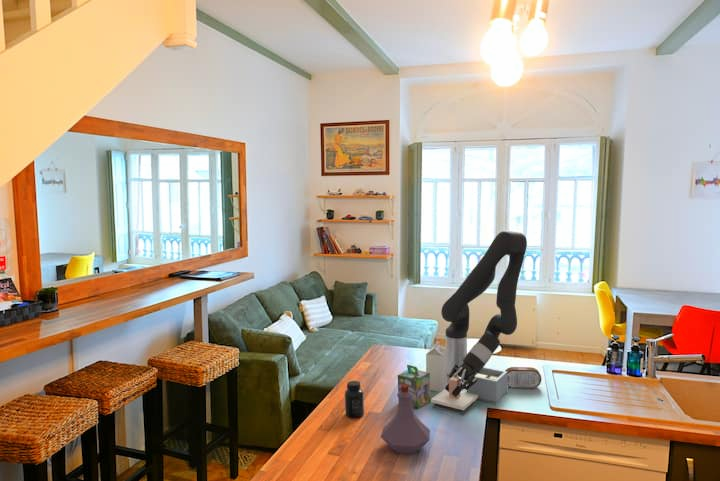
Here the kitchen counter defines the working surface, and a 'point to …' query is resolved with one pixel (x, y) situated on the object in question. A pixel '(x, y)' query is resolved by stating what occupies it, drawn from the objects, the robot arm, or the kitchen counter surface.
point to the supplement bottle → (354, 400)
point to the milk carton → (437, 367)
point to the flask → (405, 427)
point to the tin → (523, 377)
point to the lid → (451, 401)
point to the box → (490, 385)
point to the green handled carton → (416, 385)
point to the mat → (453, 408)
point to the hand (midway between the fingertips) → (450, 392)
